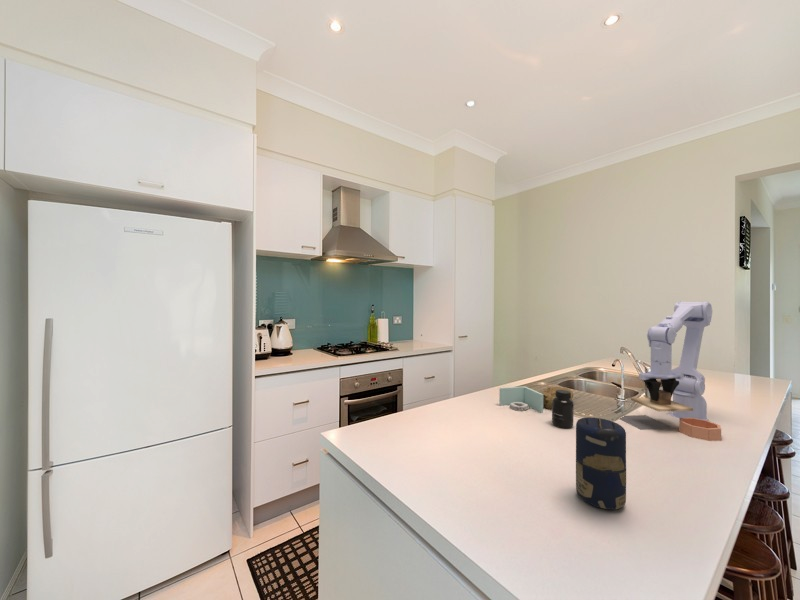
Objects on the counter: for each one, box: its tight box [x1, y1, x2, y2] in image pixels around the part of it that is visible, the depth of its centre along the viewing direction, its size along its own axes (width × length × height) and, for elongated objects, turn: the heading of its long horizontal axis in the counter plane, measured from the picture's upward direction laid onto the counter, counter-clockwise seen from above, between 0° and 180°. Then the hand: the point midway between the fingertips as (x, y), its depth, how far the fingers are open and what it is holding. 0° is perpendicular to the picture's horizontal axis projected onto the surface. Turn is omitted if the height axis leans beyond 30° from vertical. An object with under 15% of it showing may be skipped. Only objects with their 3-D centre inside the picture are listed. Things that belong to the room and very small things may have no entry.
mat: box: [619, 414, 677, 431], centre depth 118 cm, size 13×13×1 cm
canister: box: [575, 416, 627, 510], centre depth 73 cm, size 10×10×18 cm
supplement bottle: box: [551, 390, 575, 430], centre depth 116 cm, size 7×7×12 cm
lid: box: [630, 389, 693, 412], centre depth 115 cm, size 12×12×5 cm
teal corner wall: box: [498, 385, 544, 414], centre depth 133 cm, size 12×12×8 cm
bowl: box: [678, 418, 722, 442], centre depth 108 cm, size 10×10×4 cm
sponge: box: [540, 386, 574, 410], centre depth 141 cm, size 13×8×20 cm
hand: (660, 400), depth 115 cm, fingers closed on lid, 4 cm apart
